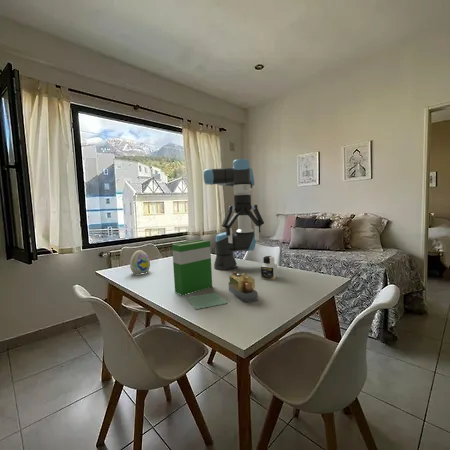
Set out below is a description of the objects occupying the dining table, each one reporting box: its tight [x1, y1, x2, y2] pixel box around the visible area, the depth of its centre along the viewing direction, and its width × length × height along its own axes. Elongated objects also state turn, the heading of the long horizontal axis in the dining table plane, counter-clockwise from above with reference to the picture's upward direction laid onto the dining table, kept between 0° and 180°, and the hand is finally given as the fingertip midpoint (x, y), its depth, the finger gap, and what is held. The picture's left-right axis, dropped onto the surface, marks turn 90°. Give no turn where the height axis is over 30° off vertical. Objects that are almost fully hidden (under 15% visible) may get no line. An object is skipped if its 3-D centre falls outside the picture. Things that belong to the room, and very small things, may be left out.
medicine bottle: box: [260, 255, 278, 281], centre depth 142 cm, size 7×7×12 cm
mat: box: [187, 292, 228, 310], centre depth 113 cm, size 14×14×1 cm
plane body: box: [228, 271, 258, 304], centre depth 117 cm, size 18×6×9 cm, turn 22°
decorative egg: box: [129, 249, 151, 275], centre depth 163 cm, size 12×12×15 cm
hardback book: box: [171, 239, 213, 296], centre depth 128 cm, size 18×7×24 cm, turn 130°
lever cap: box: [229, 272, 256, 291], centre depth 117 cm, size 10×8×5 cm
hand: (244, 241), depth 116 cm, fingers open, 13 cm apart
